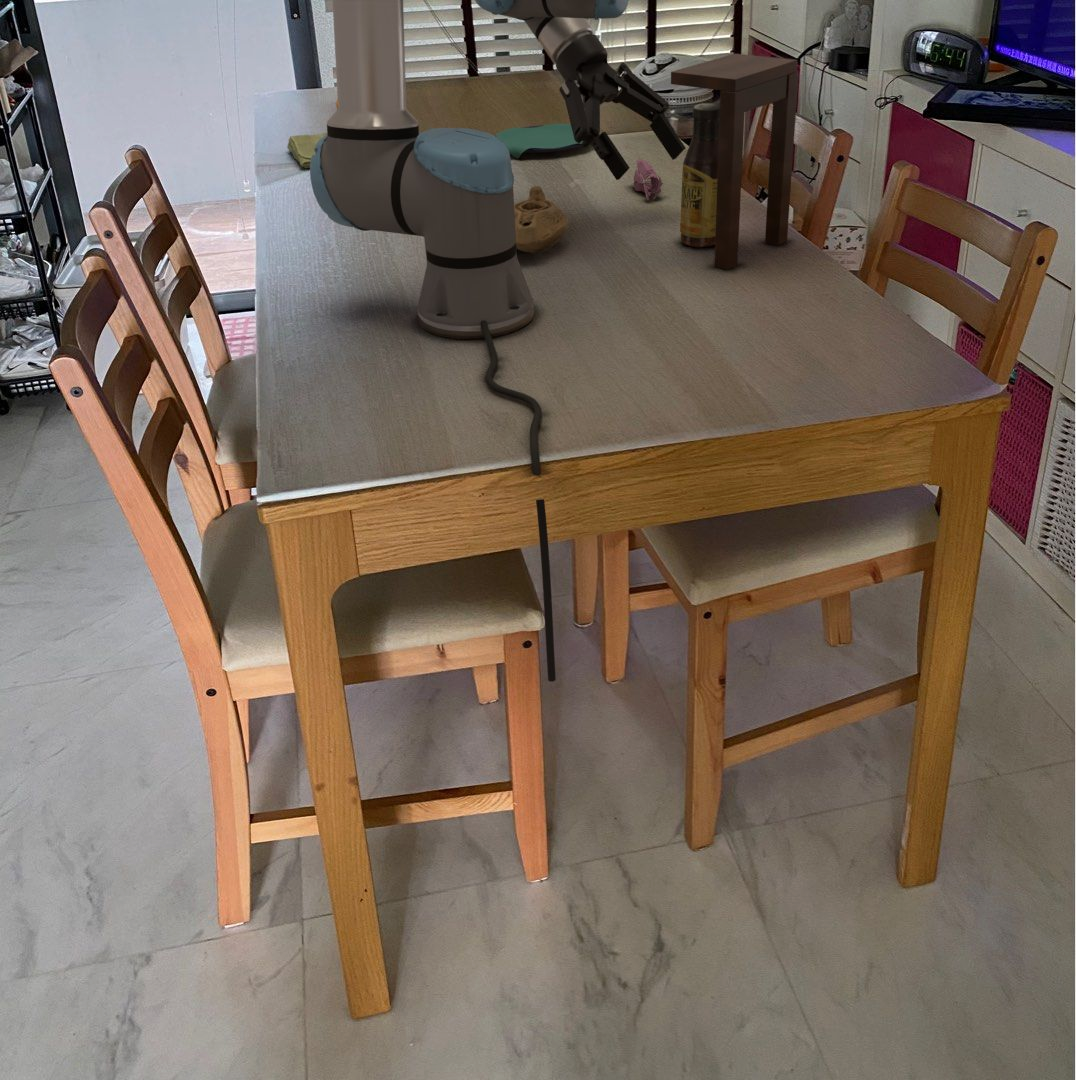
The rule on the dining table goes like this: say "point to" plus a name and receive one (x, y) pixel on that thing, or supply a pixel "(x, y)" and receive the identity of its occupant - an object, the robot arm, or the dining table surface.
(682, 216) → the sauce bottle
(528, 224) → the oil lamp
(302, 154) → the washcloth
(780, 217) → the wooden step stool
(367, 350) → the dining table surface
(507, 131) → the green pad
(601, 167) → the dining table surface
